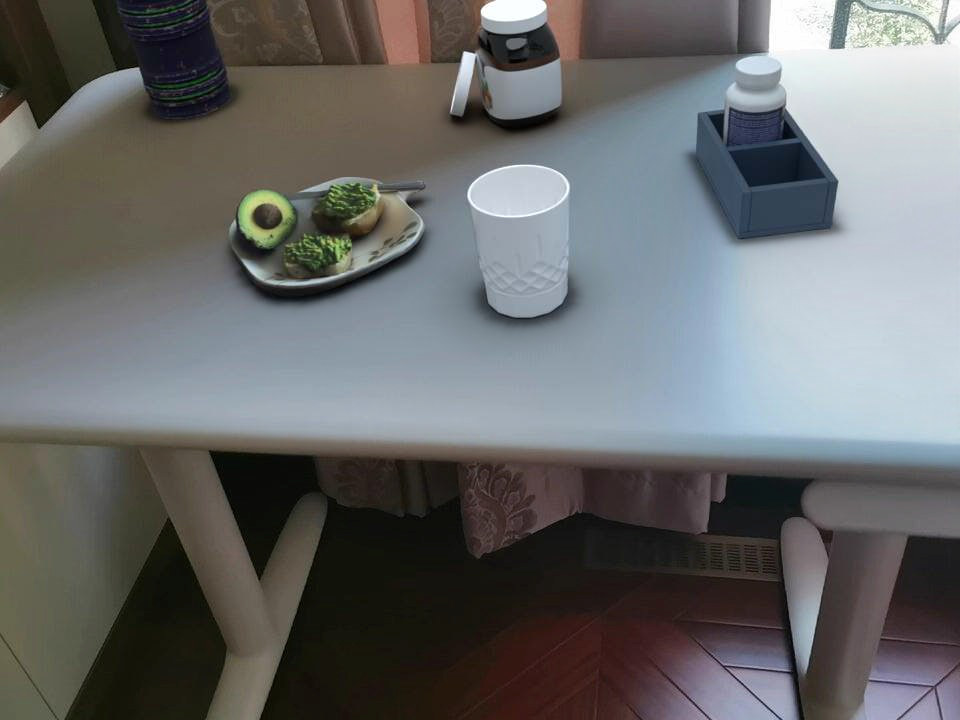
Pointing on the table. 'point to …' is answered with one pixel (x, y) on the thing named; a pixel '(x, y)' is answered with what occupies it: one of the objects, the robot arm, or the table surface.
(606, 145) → the table surface
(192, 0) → the storage jar
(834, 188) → the divided storage box
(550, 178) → the white cup
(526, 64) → the spread jar
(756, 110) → the pill bottle
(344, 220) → the avocado toast plate
